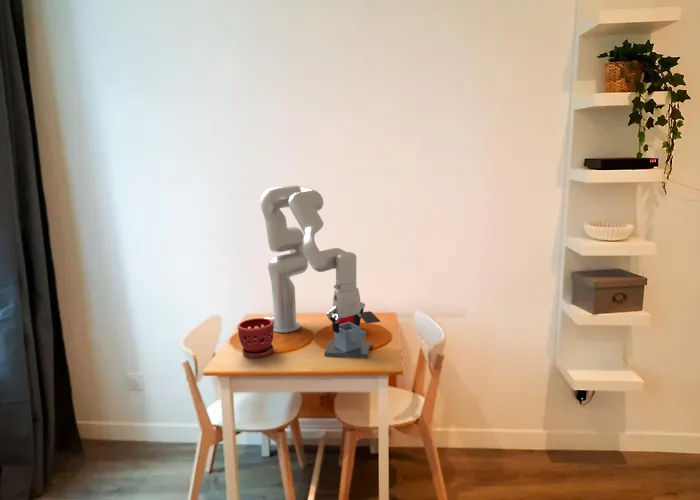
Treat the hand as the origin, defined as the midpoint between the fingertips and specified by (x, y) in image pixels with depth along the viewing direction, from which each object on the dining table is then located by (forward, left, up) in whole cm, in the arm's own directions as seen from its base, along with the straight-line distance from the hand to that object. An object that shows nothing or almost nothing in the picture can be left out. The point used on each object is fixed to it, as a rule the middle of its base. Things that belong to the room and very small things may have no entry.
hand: (346, 329), depth 192 cm
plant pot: (-33, -5, -9) cm, 35 cm away
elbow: (+2, -2, -7) cm, 7 cm away
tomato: (-2, +20, -9) cm, 22 cm away
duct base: (+1, 0, -9) cm, 8 cm away
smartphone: (+5, +37, -9) cm, 38 cm away
